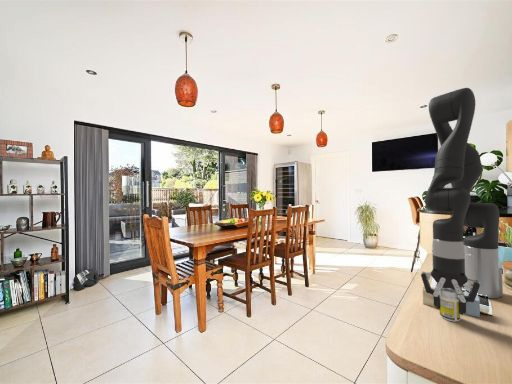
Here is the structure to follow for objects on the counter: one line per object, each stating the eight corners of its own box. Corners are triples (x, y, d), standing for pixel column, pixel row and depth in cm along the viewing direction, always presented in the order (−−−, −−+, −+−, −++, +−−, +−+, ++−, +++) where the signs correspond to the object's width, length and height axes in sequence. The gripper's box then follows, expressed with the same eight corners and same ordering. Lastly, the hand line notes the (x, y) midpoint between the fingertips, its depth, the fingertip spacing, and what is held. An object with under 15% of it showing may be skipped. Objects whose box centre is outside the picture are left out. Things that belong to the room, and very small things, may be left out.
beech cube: (424, 298, 83) (424, 284, 83) (442, 302, 79) (442, 288, 79) (423, 304, 79) (422, 289, 79) (441, 308, 76) (441, 293, 76)
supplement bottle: (452, 313, 72) (451, 286, 72) (464, 322, 68) (463, 293, 68) (435, 313, 73) (435, 286, 73) (446, 321, 68) (446, 293, 68)
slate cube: (457, 306, 77) (457, 291, 77) (478, 311, 74) (478, 295, 74) (457, 312, 73) (457, 296, 73) (479, 317, 70) (479, 301, 70)
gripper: (479, 255, 68) (481, 313, 68) (420, 248, 78) (421, 299, 78) (482, 261, 63) (483, 324, 63) (417, 253, 72) (419, 308, 72)
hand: (449, 310), depth 70 cm, fingers closed on supplement bottle, 4 cm apart
